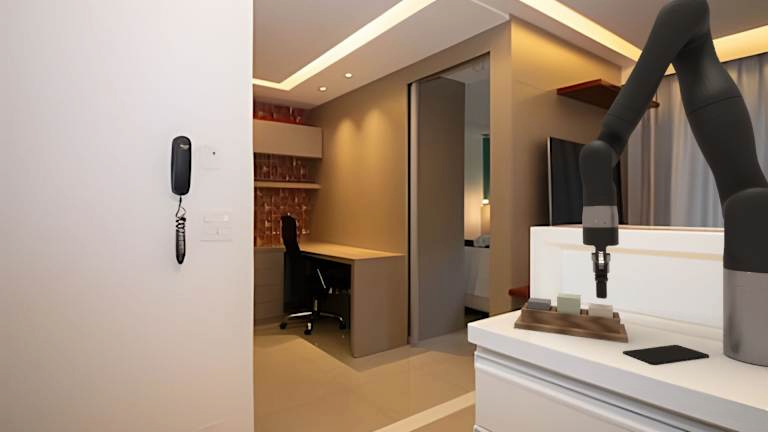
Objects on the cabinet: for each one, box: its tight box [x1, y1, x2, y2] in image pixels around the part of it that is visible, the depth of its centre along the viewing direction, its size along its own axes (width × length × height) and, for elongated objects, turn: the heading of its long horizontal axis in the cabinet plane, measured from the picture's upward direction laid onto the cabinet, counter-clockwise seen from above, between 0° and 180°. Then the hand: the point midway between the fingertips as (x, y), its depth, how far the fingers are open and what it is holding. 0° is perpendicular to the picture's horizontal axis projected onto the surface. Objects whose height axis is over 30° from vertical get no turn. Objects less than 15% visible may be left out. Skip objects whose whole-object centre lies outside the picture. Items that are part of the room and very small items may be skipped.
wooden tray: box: [513, 302, 629, 344], centre depth 95 cm, size 24×12×4 cm, turn 61°
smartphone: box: [622, 344, 710, 366], centre depth 77 cm, size 7×1×15 cm
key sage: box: [556, 292, 582, 314], centre depth 95 cm, size 5×5×5 cm
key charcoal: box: [527, 297, 552, 311], centre depth 99 cm, size 5×5×5 cm
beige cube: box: [587, 302, 614, 318], centre depth 92 cm, size 5×5×5 cm
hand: (601, 297), depth 92 cm, fingers closed
